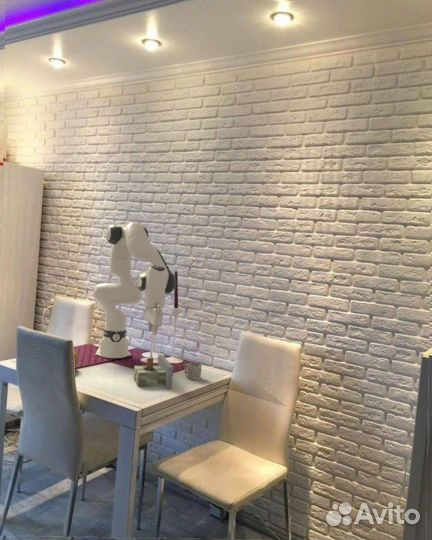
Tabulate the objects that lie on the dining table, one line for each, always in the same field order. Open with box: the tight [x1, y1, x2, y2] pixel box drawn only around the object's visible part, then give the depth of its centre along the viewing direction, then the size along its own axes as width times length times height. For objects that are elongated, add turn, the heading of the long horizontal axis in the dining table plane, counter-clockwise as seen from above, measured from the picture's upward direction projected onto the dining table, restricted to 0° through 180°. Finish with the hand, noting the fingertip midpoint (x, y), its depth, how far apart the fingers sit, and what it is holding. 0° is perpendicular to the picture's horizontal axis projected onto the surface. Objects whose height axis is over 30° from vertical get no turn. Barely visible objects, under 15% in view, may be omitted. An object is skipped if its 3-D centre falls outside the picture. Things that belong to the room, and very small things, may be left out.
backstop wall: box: [157, 354, 174, 391], centre depth 221 cm, size 22×2×10 cm, turn 19°
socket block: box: [133, 365, 166, 388], centre depth 219 cm, size 12×12×6 cm
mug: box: [183, 362, 202, 381], centre depth 232 cm, size 10×7×7 cm, turn 46°
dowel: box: [145, 357, 154, 371], centre depth 219 cm, size 3×3×10 cm
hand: (152, 332), depth 218 cm, fingers open, 8 cm apart
